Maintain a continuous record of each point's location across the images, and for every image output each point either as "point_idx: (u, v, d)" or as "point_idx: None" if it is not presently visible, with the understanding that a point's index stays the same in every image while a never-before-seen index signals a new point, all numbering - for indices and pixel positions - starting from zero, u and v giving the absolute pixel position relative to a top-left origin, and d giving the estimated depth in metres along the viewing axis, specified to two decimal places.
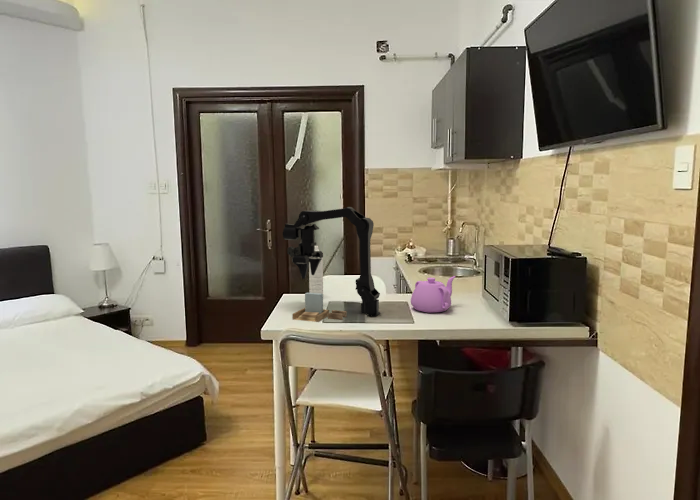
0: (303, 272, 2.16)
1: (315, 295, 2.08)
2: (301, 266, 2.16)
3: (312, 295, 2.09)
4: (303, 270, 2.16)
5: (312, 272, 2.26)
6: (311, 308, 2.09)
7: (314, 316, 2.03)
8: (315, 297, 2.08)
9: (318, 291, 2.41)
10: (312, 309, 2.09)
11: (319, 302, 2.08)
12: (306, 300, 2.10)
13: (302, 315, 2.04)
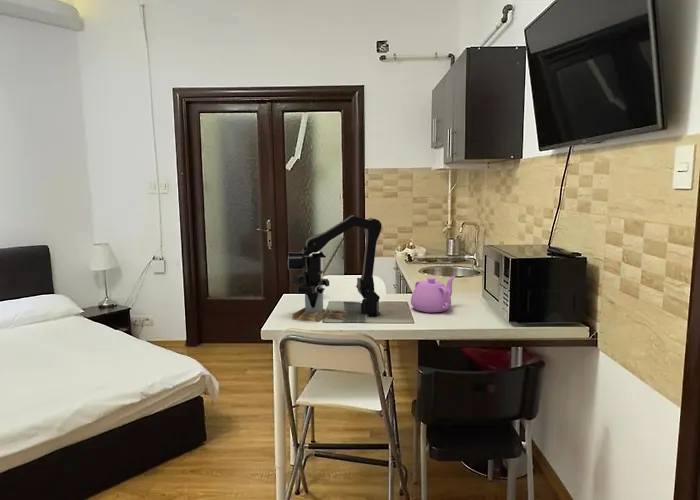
0: (312, 301, 2.08)
1: None
2: (310, 295, 2.07)
3: None
4: (312, 299, 2.07)
5: None
6: (311, 308, 2.09)
7: (314, 316, 2.03)
8: None
9: None
10: (312, 309, 2.09)
11: (319, 302, 2.08)
12: (306, 300, 2.10)
13: (302, 315, 2.04)
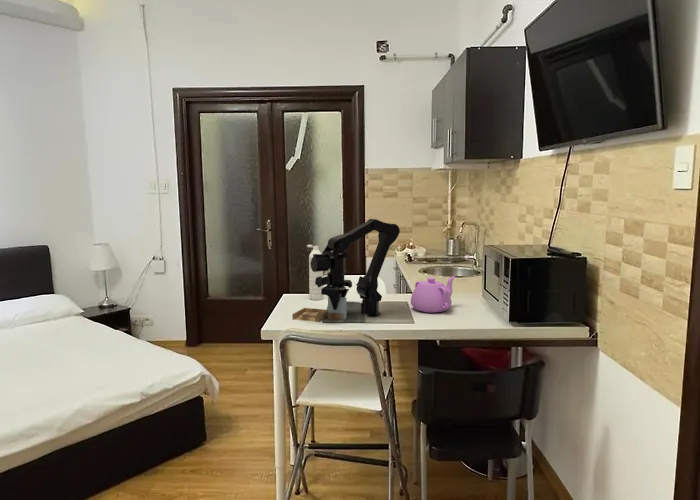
0: (335, 303, 2.03)
1: None
2: (333, 297, 2.03)
3: None
4: (335, 301, 2.03)
5: None
6: (334, 312, 2.06)
7: (314, 316, 2.03)
8: None
9: (318, 291, 2.41)
10: None
11: (343, 306, 2.05)
12: (329, 304, 2.07)
13: (302, 315, 2.04)
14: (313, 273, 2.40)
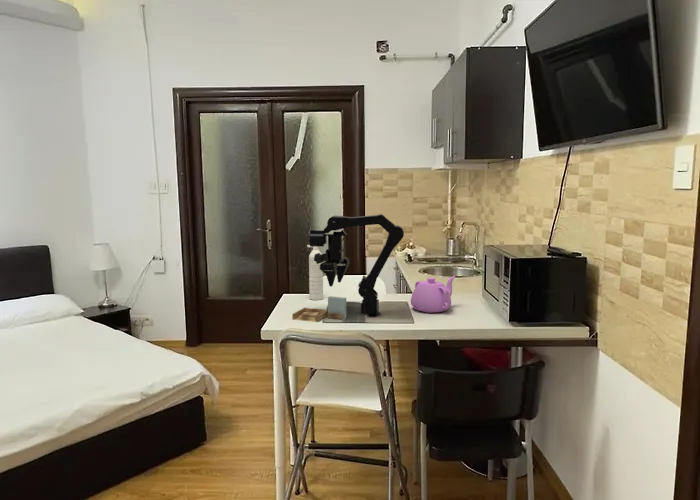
0: (331, 280, 2.09)
1: (338, 299, 2.05)
2: (329, 273, 2.08)
3: (335, 299, 2.05)
4: (331, 278, 2.08)
5: (339, 279, 2.18)
6: (334, 312, 2.06)
7: (314, 316, 2.03)
8: (338, 301, 2.05)
9: (318, 291, 2.41)
10: None
11: (342, 306, 2.05)
12: (329, 304, 2.07)
13: (302, 315, 2.04)
14: (313, 273, 2.40)
